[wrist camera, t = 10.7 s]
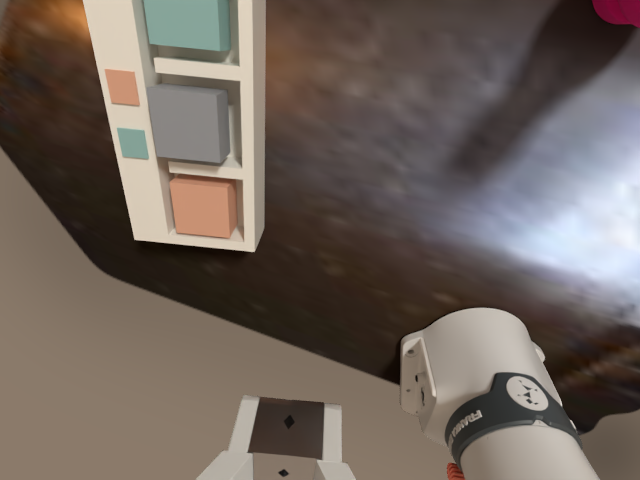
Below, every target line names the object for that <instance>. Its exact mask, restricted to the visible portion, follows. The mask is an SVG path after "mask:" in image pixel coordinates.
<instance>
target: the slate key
mask: <svg viewBox="0 0 640 480" xmlns="http://www.w3.org/2000/svg"><path fill="white" fill-rule="evenodd" d="M146 89H147V96H148V102H149V109H150V115H151V121H152V128H153V134H154V141H155V147H156V154H157V157H167V158H176V159H186V160H196V161H206V162H215V163H221V162H222V161H223V160H224V159H225V158H226V157H227V156H228V155H229V153H230V131H229V109H228V90H227V89H217V88H208V87H198V86H188V85H178V84H169V83H162V84H158V85H154V86H151V87H147V88H146Z"/></svg>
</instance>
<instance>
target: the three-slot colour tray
mask: <svg viewBox="0 0 640 480" xmlns="http://www.w3.org/2000/svg"><path fill="white" fill-rule="evenodd" d="M83 3H84V8H85V12H86V17H87V22H88V26H89V31H90V36H91V40H92V45H93V49H94V54H95V59H96V63H97V68H98V72H99V77H100V82H101V86H102V91H103V96H104V100H105V105H106V109H107V114H108V119H109V123H110V128H111V133H112V137H113V142H114V146H115V151H116V156H117V160H118V165H119V169H120V174H121V179H122V183H123V188H124V193H125V197H126V202H127V206H128V211H129V216H130V220H131V225H132V230H133V234H134V239H135V240H141V241H151V242H161V243H171V244H181V245H190V246H200V247H210V248H220V249H230V250H240V251H249V252H255V250H256V248H257V245H258V243H259V240H260V238H261V235H262V233H263V230H264V190H265V43H266V0H229V6H230V32H231V50H226V51H214V50H204V49H194V48H185V47H175V46H165V45H156V44H150V42H149V35H148V28H147V21H146V14H145V7H144V0H83ZM162 83H169V84H178V85H188V86H198V87H208V88H217V89H227V90H228V109H229V131H230V153H229V155H228V156H227V157H226V158H225V159H224V160H223V161H222V162H221V163H215V162H206V161H196V160H186V159H176V158H167V157H157V154H156V147H155V141H154V134H153V128H152V121H151V115H150V109H149V102H148V96H147V89H146V88H147V87H151V86H154V85H158V84H162ZM180 173H181V174H191V175H201V176H211V177H220V178H230V179H236V191H237V217H238V224H237V226H236V228H235V230H234V231H233V233H232V235H231V237H230V238H225V237H215V236H205V235H195V234H186V233H177V232H176V225H175V218H174V211H173V204H172V197H171V190H170V183H169V182H170V181H171V180H173V179H174V178H175V177H176V176H177V175H179V174H180Z"/></svg>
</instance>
